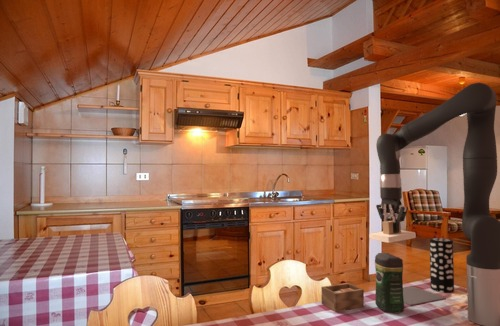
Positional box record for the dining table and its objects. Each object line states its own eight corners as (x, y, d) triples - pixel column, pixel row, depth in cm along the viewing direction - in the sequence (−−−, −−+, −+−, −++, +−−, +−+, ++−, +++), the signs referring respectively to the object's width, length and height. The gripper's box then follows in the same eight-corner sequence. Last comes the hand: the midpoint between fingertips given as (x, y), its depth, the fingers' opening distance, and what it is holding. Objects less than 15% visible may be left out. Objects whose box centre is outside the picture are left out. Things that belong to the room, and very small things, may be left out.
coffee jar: (408, 313, 112) (407, 257, 113) (385, 314, 111) (384, 257, 112) (393, 303, 121) (392, 250, 122) (372, 303, 121) (371, 251, 122)
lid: (395, 234, 134) (394, 217, 134) (415, 237, 125) (414, 220, 126) (369, 238, 129) (368, 221, 129) (388, 242, 120) (387, 224, 120)
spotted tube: (454, 294, 131) (452, 242, 132) (429, 290, 135) (428, 240, 136) (454, 288, 138) (453, 239, 139) (431, 285, 142) (430, 237, 143)
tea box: (348, 299, 125) (348, 282, 125) (363, 306, 118) (363, 289, 118) (321, 303, 120) (321, 286, 121) (335, 312, 113) (335, 293, 113)
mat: (412, 287, 139) (412, 286, 139) (445, 298, 126) (445, 297, 126) (378, 292, 132) (378, 291, 133) (410, 305, 119) (410, 304, 119)
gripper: (369, 186, 133) (371, 230, 132) (398, 186, 120) (400, 235, 119) (384, 185, 136) (385, 229, 135) (413, 186, 123) (415, 234, 122)
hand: (392, 231), depth 127 cm, fingers closed on lid, 3 cm apart
